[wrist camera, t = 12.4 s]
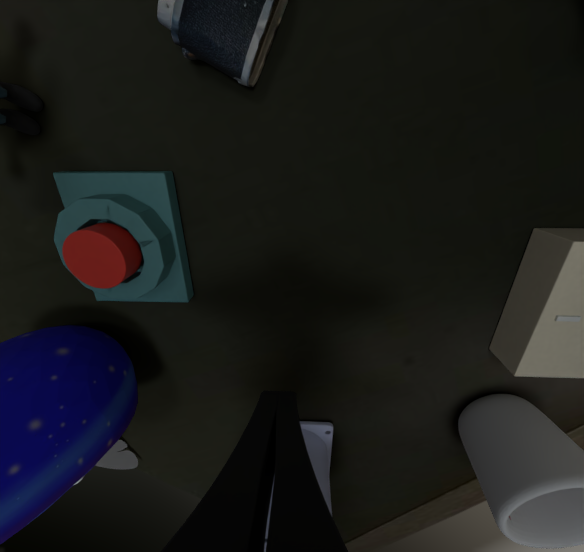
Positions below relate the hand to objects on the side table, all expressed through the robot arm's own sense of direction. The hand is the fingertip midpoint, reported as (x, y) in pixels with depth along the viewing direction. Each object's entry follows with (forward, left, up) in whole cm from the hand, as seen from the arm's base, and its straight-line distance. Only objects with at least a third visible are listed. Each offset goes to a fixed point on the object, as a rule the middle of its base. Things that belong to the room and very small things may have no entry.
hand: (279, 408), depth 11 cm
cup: (-13, -19, -11) cm, 26 cm away
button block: (+4, +11, -10) cm, 16 cm away
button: (+4, +11, -8) cm, 14 cm away
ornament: (-6, +17, -11) cm, 21 cm away
